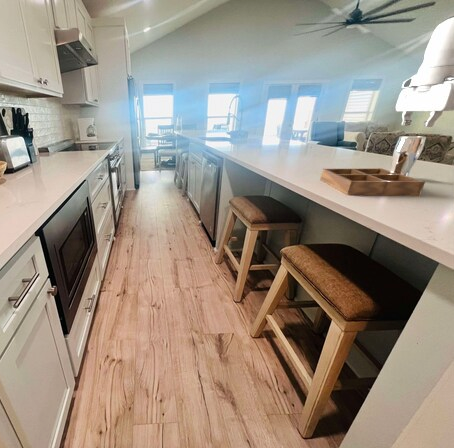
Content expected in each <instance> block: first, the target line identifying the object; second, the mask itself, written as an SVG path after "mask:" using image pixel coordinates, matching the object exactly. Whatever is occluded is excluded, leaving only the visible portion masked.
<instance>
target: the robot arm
mask: <svg viewBox="0 0 454 448" xmlns="http://www.w3.org/2000/svg"><path fill="white" fill-rule="evenodd" d="M423 56H424V57H423V60H422V63H421V65H420V67H419V68H418V69H417V70H418V71H417V73H416V74H414V75H413V76H411V77H410V78H408V79H406V80H404V81H403V83H402V86H401V89H402V90H401V92H399V95H398V97H397V101H396V104H395V111H396V112H402V114H401V116H402V121H401V126H406V127H407V126H410V125H411V123H412V119H411V116H412V115H413V113H414V112H430V114H429V115H430V116H429V117H428V119H427V120H424V122H423V125H422V127H423V128H433V126H434V125H435V123H436V121H437V120H438V119H439V118H440V117H441V116H442V115H443V112H453V111H454V15H452V16H450V17H448V18H446V19H444V20H442V22H440V23H439V24H438V25H437V26H436V27H435V29H434V31H433V33H432V34H431V37H430V39H429V41H428V42H427V46H426V49H425V51H424V54H423Z"/></svg>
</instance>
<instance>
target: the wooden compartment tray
mask: <svg viewBox="0 0 454 448" xmlns="http://www.w3.org/2000/svg"><path fill="white" fill-rule="evenodd" d="M320 181H322V182H323V183H325V184H327V185H328V186H331V187H332V188H334V189H335V190H337V191H340V192H341V193H343V194H345V195H346V196H400V197H401V196H404V197H405V196H407V197H408V196H409V197H411V196H413V197H415V196H416V197H419V196H420V195H421V193H422V190H423V188H424V186H425V183H426V181H424V180H420V179H417V178H414V177H411V176H409V177H408V176H404V175H401V174H398V173H395V172H391V171H390V170H388V169H384V168H382V167H381V168H380V167H379V168H376V167H375V168H374V167H373V168H372V167H371V168H322V171H321V174H320Z"/></svg>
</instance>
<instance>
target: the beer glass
mask: <svg viewBox="0 0 454 448" xmlns="http://www.w3.org/2000/svg"><path fill="white" fill-rule="evenodd" d="M426 139H427V136H423V135H421V136H419V135H401V136H399V138H398V140H397V142H396V144H395V147H394V149H393V152H392V158H391V165H390V169H389V171H391V172H395V173H398V174H401V175H404V176H408V177H410V173H411V170H412V169H413V166H414V165H415V163H416V162H417V161H418V159H419V157H420V155H421V154H422V151H423V149H424V146H425V142H426Z"/></svg>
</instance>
